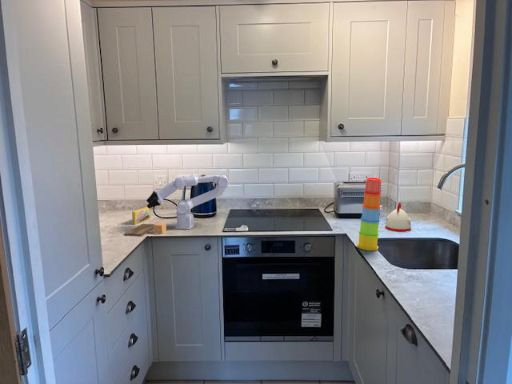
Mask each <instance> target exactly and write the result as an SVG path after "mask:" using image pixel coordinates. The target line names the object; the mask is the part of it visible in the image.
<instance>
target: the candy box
mask: <svg viewBox="0 0 512 384" xmlns="http://www.w3.org/2000/svg"><path fill="white" fill-rule="evenodd" d="M150 210H151V208H148V207H147V206H144V207H143V208H139V209H136V210H133V211H132V213H131V214H132V215H131V218H132V219H131V220H132V225H133V226H136V225H137V224H141V223H142V222H145V221H147V220H151V213H150V212H151V211H150Z"/></svg>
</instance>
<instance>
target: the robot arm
mask: <svg viewBox="0 0 512 384" xmlns="http://www.w3.org/2000/svg"><path fill="white" fill-rule="evenodd" d="M209 182H211V183H214V184H216V185H215V187H214V189H212V190H210V191H207V192H204V193H202V194H199V195H198V196H195V197H191V198H189V199H185V200H179V201H178V202H177V206H176V226H175V227H174V229H175V230H176V229H177V230H191V229H192V228H193V227H195V224H194V223H195V220H194V219H195V218H194V213H191V212H190V211H189V210H191V209H193V208H194V207H196V206H199V205H201V204H204V203H206V202H209V201H211V200H213V199H216V198H218V197H221V196H222V195H223V193H224V192H225V191H226V189H228V186H229V183H230V181H229V179H228V177H227V175H226V174H211V175H203V176H198V177H197V176H196V175H194V174H191V175H189V176H185V175H182V176H178V177H175V179H174V180H172V181H170V183H168V184H166V185H165V186H163V187H162V188H160V189H157V190H153V191H152V193H151V194H150V196H149V197H148V198H147V199H146V200H145V201H146V202H147V203H148V204H147V205H146V207H148V208H150V209H151V208H154V207H158V206H161V203H162V202H163V201H164V200H165V199H167V198H168V197H169V196H170V195H172V194H174V193H175V192H176V191H178V190H179V189H183V188H184V187H191V186H197V185H199V183H209Z"/></svg>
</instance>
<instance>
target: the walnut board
mask: <svg viewBox="0 0 512 384" xmlns="http://www.w3.org/2000/svg"><path fill="white" fill-rule="evenodd" d="M155 224H156V223H155ZM155 224H154V223H153V224H151V223H142V224H140V225H138V226H136V227H134V228H131V229H130V230H128V231H126V232H125V233H124V236H129V235H130V236H131V237H142V236H144V235H146V234H147V233H149V232H151V231H154V225H155ZM130 236H129V237H130Z"/></svg>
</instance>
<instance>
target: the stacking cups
mask: <svg viewBox="0 0 512 384" xmlns="http://www.w3.org/2000/svg"><path fill="white" fill-rule="evenodd" d="M381 191H382V180H381V178H379V177H367V178H366V179H365V188H364V192H363V195H364V196H363V204H362V205H361V206H362V213H361V217H360V229H359V231H358V232H357V233H358V242H357V244H356V247H357V248H358V249H360V250H363V251H369V252H370V251H373V252H374V251H377V250H378V249H379V246H378V237H379V236H380V233H379V225H380V222H381V220H380V213H381V211H380V210H381V209H382V207H381V195H382V192H381Z"/></svg>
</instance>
